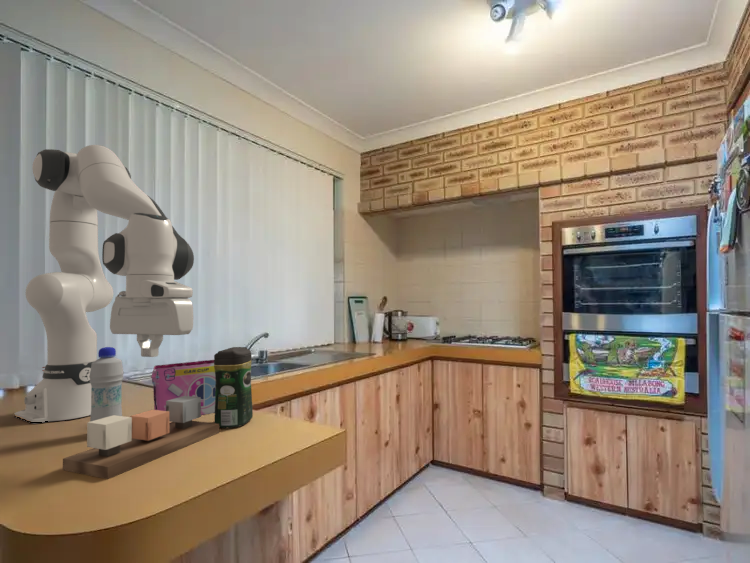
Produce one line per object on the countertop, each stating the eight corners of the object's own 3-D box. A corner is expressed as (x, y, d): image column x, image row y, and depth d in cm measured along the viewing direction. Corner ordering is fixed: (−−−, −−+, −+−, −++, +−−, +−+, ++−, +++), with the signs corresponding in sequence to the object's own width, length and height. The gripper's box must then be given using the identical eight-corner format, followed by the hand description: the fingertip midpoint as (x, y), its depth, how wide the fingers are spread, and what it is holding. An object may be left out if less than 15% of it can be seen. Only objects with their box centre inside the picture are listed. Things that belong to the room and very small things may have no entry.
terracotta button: (130, 438, 83) (130, 415, 83) (152, 430, 87) (152, 409, 87) (148, 440, 81) (148, 417, 81) (169, 432, 85) (169, 411, 85)
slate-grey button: (166, 421, 90) (166, 400, 91) (184, 415, 95) (184, 395, 95) (183, 423, 89) (182, 402, 89) (200, 416, 93) (200, 397, 93)
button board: (62, 469, 74) (63, 438, 74) (180, 427, 98) (180, 404, 98) (107, 479, 69) (108, 446, 70) (219, 432, 94) (219, 408, 94)
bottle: (93, 431, 97) (94, 346, 98) (126, 428, 99) (126, 344, 100) (84, 440, 90) (85, 349, 91) (119, 436, 93) (120, 347, 94)
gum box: (152, 424, 102) (153, 369, 103) (147, 417, 108) (148, 365, 109) (247, 407, 116) (247, 359, 117) (238, 402, 123) (237, 356, 123)
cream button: (87, 446, 75) (87, 422, 75) (113, 438, 79) (113, 415, 80) (105, 450, 73) (105, 424, 73) (131, 440, 77) (131, 417, 78)
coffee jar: (226, 417, 106) (226, 345, 107) (256, 417, 105) (255, 345, 106) (208, 429, 96) (208, 350, 97) (241, 429, 96) (240, 349, 97)
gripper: (101, 290, 86) (100, 356, 86) (173, 288, 79) (172, 360, 78) (129, 291, 92) (128, 353, 92) (198, 288, 85) (198, 356, 84)
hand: (149, 356), depth 85 cm, fingers closed
